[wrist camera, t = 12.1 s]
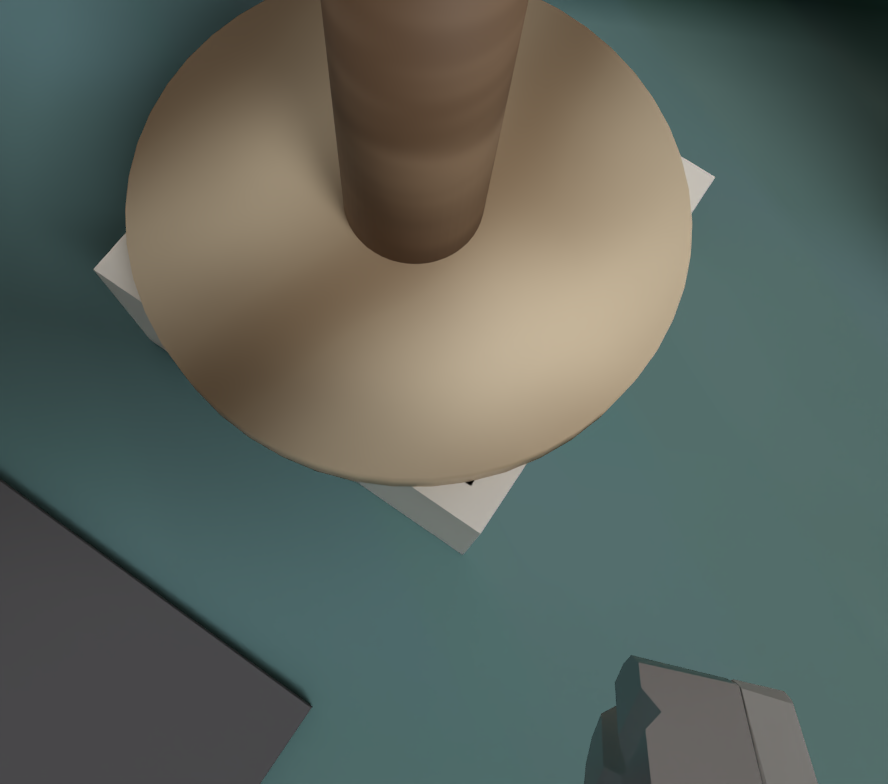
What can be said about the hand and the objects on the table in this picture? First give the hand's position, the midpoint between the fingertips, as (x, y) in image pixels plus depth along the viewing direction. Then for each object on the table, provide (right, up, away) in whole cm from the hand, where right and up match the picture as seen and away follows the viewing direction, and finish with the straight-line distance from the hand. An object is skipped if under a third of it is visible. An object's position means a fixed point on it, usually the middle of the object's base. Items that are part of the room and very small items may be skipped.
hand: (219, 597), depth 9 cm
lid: (+2, +6, +11) cm, 12 cm away
